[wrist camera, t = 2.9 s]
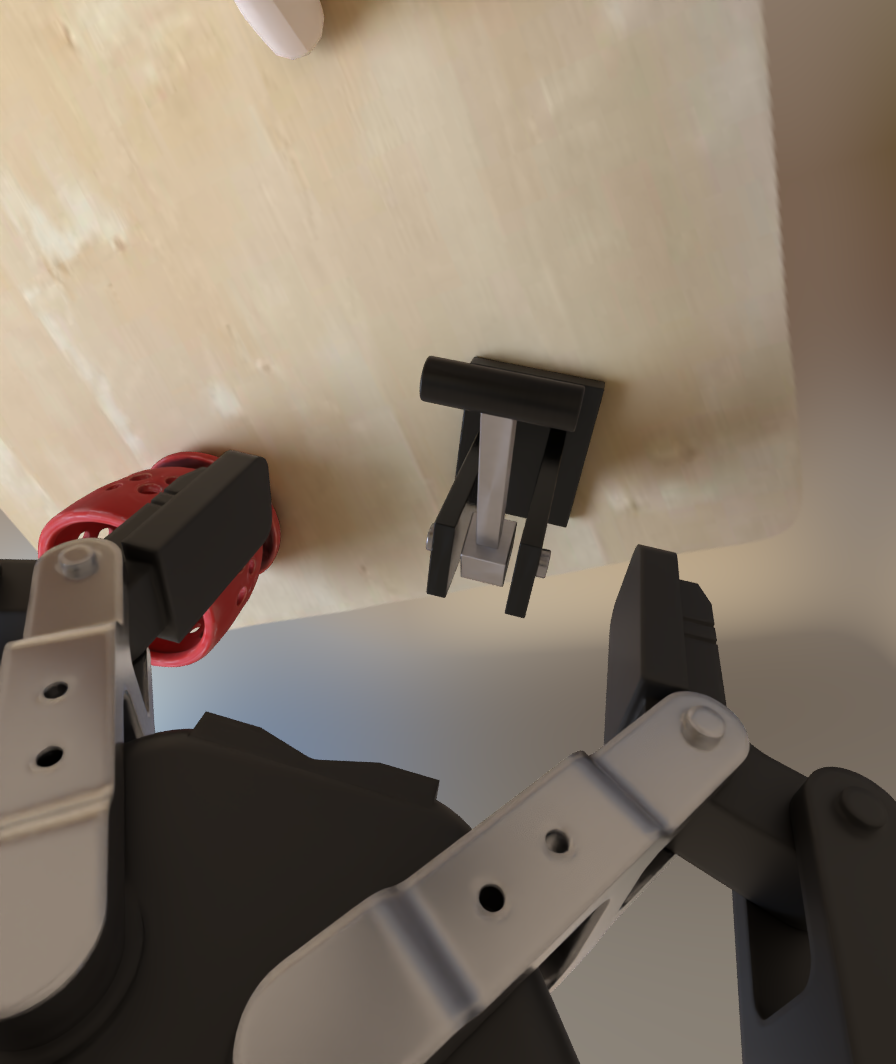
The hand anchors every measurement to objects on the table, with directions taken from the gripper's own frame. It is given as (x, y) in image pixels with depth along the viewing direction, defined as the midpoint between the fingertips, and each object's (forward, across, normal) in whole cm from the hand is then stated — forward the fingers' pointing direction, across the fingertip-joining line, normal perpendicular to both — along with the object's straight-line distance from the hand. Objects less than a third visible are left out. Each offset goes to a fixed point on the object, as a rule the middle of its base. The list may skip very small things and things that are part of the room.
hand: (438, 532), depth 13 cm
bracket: (+26, 0, +11) cm, 28 cm away
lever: (+12, 0, +5) cm, 13 cm away
